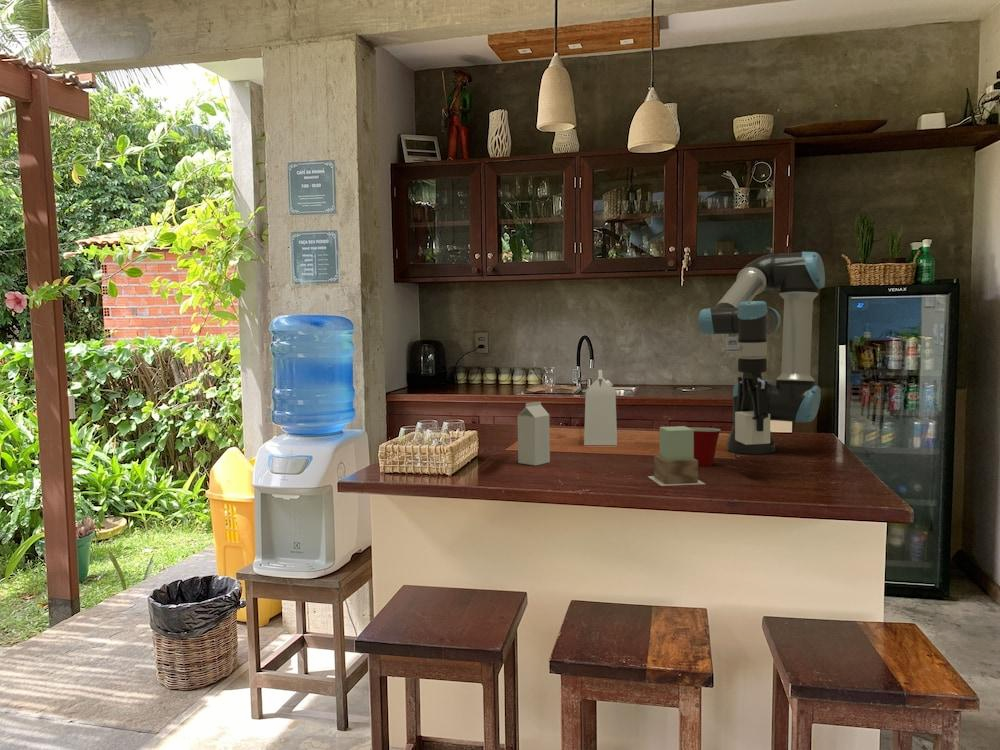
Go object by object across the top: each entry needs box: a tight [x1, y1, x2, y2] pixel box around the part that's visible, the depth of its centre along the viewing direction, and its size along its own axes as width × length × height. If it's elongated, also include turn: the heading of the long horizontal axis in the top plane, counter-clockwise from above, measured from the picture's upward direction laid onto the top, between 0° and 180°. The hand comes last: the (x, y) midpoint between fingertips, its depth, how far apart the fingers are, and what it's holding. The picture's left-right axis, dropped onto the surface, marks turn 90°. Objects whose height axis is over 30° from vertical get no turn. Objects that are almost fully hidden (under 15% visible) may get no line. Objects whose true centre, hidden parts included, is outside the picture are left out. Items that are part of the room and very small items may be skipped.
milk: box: [583, 369, 618, 446], centre depth 272 cm, size 12×12×26 cm
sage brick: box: [659, 425, 694, 461], centre depth 206 cm, size 7×7×8 cm
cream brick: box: [735, 411, 771, 445], centre depth 212 cm, size 7×7×8 cm
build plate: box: [647, 475, 706, 487], centre depth 206 cm, size 12×12×1 cm
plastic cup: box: [689, 427, 722, 467], centre depth 227 cm, size 11×11×12 cm
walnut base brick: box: [653, 454, 699, 484], centre depth 206 cm, size 9×9×6 cm
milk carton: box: [517, 401, 551, 466], centre depth 238 cm, size 7×7×19 cm
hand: (752, 440), depth 213 cm, fingers closed on cream brick, 7 cm apart
